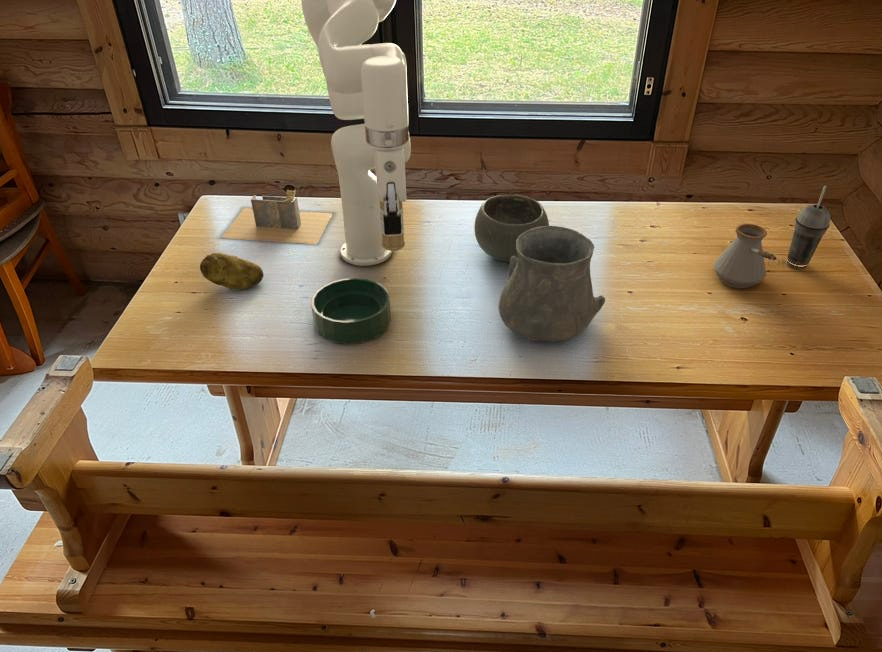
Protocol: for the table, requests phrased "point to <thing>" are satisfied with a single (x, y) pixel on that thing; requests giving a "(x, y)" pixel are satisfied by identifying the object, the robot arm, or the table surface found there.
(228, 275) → the potato
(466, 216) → the table surface
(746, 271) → the coffee pot
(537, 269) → the vessel
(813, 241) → the beverage cup
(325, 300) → the green round dish
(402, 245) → the sprinkles bottle
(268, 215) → the architectural model on board
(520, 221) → the bowl
